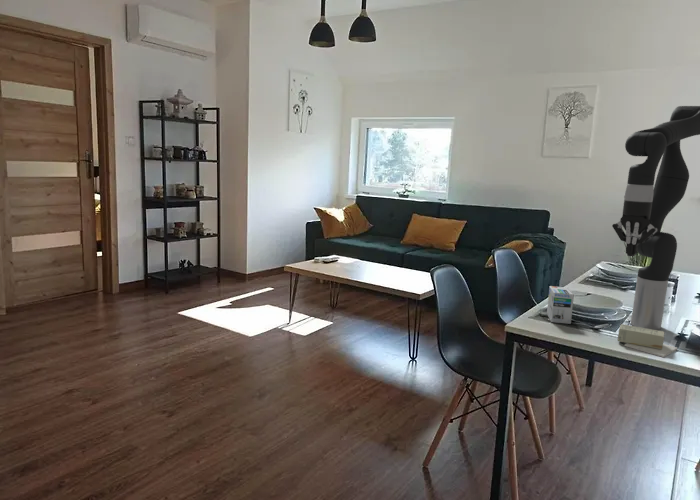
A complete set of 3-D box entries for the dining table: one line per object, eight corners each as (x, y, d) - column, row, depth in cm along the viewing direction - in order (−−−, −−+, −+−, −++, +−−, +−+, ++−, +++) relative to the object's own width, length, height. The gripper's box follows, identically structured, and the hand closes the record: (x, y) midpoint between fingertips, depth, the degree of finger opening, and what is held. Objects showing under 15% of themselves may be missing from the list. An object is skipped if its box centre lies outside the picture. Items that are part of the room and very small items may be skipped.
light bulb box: (571, 324, 180) (574, 294, 178) (550, 322, 181) (554, 292, 179) (565, 315, 190) (568, 287, 189) (545, 313, 192) (548, 285, 190)
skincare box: (616, 341, 163) (662, 350, 156) (618, 328, 162) (664, 336, 155) (619, 336, 168) (663, 345, 161) (621, 323, 167) (665, 331, 161)
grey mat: (639, 339, 168) (639, 337, 167) (677, 349, 159) (677, 347, 159) (624, 346, 161) (624, 344, 160) (663, 357, 152) (663, 355, 152)
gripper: (666, 201, 155) (658, 258, 158) (621, 197, 165) (614, 251, 168) (657, 202, 150) (649, 260, 153) (610, 198, 160) (603, 253, 163)
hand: (630, 255), depth 161 cm, fingers closed
